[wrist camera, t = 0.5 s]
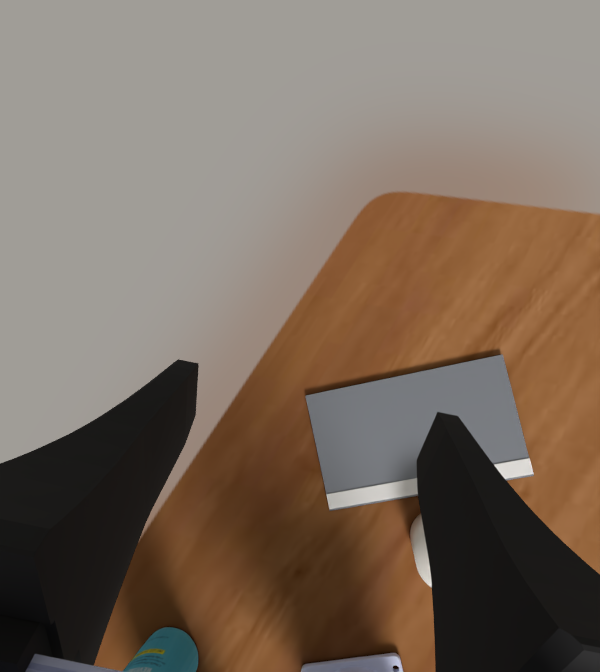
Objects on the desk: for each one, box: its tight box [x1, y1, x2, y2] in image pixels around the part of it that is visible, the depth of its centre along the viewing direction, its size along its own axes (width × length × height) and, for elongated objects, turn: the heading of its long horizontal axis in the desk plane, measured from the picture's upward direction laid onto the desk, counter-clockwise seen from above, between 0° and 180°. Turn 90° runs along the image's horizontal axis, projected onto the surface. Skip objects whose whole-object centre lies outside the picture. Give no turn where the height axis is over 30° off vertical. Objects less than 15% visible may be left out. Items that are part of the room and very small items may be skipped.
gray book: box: [306, 355, 534, 511], centre depth 37 cm, size 10×16×1 cm, turn 103°
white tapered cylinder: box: [410, 514, 432, 587], centre depth 34 cm, size 4×4×4 cm
